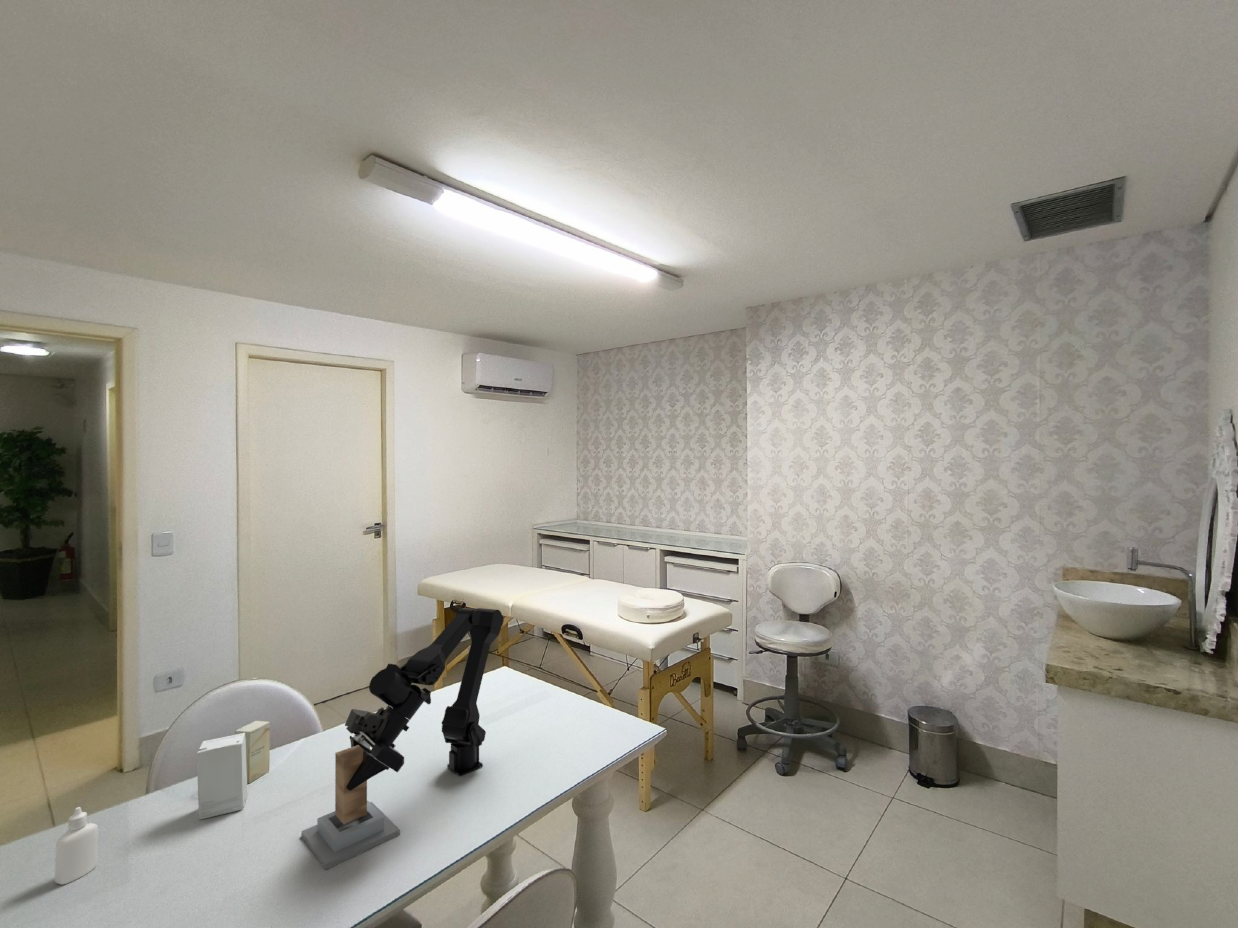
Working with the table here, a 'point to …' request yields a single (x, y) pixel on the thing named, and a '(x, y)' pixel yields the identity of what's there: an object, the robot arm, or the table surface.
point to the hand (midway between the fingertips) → (344, 784)
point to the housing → (348, 835)
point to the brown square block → (347, 801)
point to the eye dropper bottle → (76, 849)
